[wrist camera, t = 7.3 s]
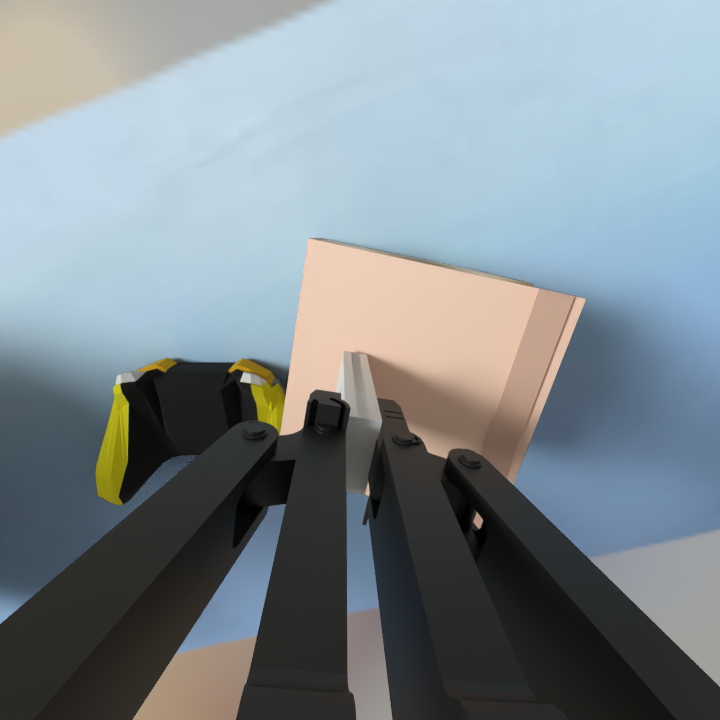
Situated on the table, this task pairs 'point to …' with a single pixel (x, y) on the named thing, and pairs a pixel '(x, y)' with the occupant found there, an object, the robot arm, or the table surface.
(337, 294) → the lid
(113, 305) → the table surface
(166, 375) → the gaming controller
